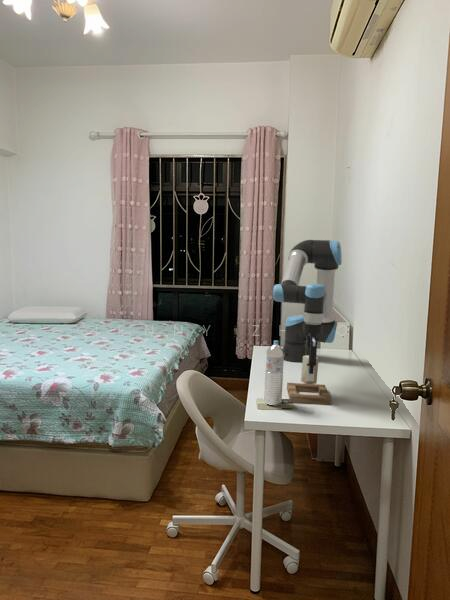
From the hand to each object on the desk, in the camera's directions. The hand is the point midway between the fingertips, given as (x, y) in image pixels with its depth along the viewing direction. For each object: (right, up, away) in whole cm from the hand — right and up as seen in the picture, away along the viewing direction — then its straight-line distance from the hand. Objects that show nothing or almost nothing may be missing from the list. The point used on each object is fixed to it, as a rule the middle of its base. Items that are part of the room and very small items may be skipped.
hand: (309, 378), depth 176 cm
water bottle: (-16, -9, -8) cm, 20 cm away
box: (0, -2, 0) cm, 2 cm away
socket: (0, -8, +1) cm, 8 cm away
